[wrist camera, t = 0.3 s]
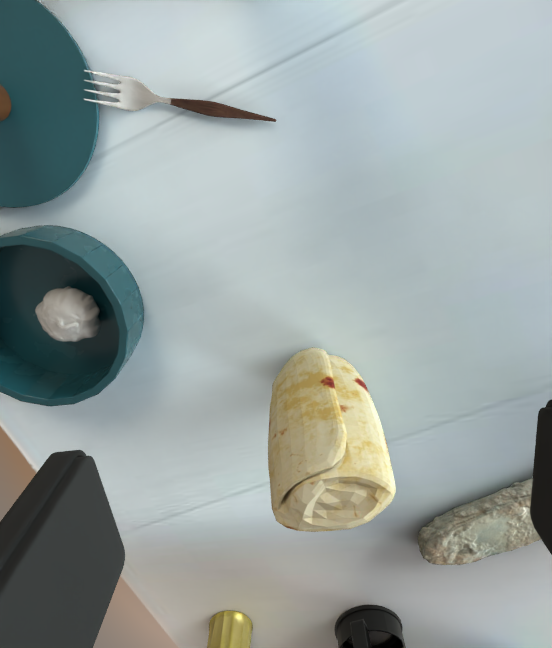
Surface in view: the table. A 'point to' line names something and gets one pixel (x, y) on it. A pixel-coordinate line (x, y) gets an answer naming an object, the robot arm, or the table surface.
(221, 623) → the vase
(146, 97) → the fork
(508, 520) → the elongated rock
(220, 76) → the table surface
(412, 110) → the table surface
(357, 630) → the french press
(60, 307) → the garlic
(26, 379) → the pot
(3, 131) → the lid
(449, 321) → the table surface
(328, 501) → the food model
